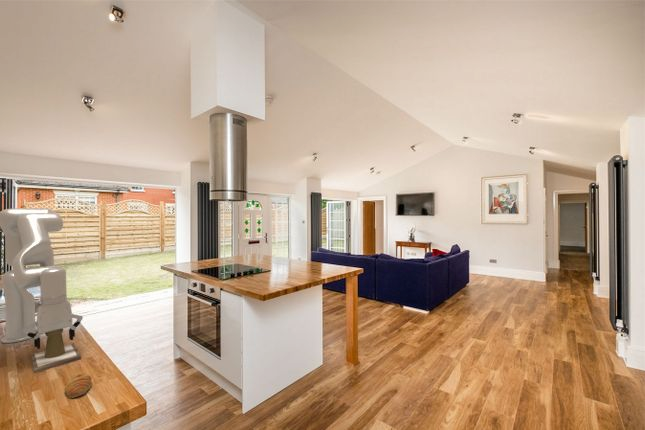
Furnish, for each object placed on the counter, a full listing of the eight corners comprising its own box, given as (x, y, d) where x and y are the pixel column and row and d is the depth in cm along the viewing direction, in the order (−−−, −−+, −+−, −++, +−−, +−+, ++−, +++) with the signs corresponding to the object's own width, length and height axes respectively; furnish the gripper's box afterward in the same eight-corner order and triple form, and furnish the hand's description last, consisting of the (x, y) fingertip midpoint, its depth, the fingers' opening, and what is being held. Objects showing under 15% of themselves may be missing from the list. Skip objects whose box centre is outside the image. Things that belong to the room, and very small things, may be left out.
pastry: (92, 393, 92) (92, 381, 92) (63, 403, 88) (63, 390, 88) (91, 380, 99) (91, 369, 99) (64, 389, 95) (64, 377, 95)
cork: (53, 358, 112) (52, 330, 112) (40, 357, 113) (39, 329, 113) (69, 351, 118) (68, 324, 118) (56, 350, 119) (56, 323, 119)
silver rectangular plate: (31, 356, 117) (30, 353, 117) (73, 345, 127) (73, 342, 127) (34, 372, 105) (34, 369, 105) (81, 358, 114) (81, 355, 114)
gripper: (23, 307, 106) (25, 355, 107) (84, 296, 120) (85, 338, 120) (21, 303, 111) (22, 349, 111) (79, 293, 124) (80, 333, 125)
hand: (55, 343), depth 116 cm, fingers open, 9 cm apart
